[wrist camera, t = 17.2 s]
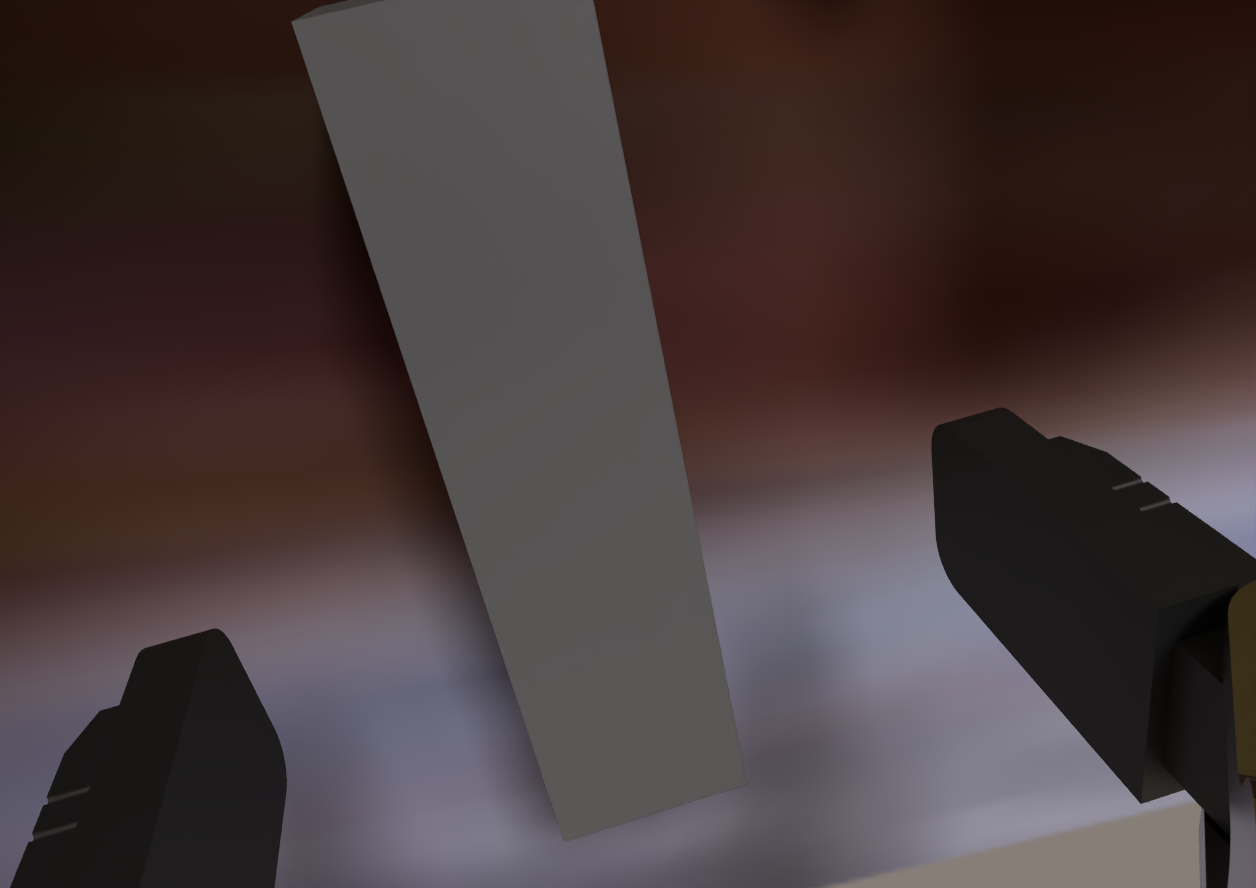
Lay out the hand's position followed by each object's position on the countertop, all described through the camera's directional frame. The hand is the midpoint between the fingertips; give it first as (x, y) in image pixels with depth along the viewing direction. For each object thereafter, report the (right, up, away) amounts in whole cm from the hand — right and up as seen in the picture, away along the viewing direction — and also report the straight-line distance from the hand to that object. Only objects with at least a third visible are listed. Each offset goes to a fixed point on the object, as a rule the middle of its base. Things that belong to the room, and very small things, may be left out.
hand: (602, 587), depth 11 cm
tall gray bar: (-1, +3, +5) cm, 6 cm away
